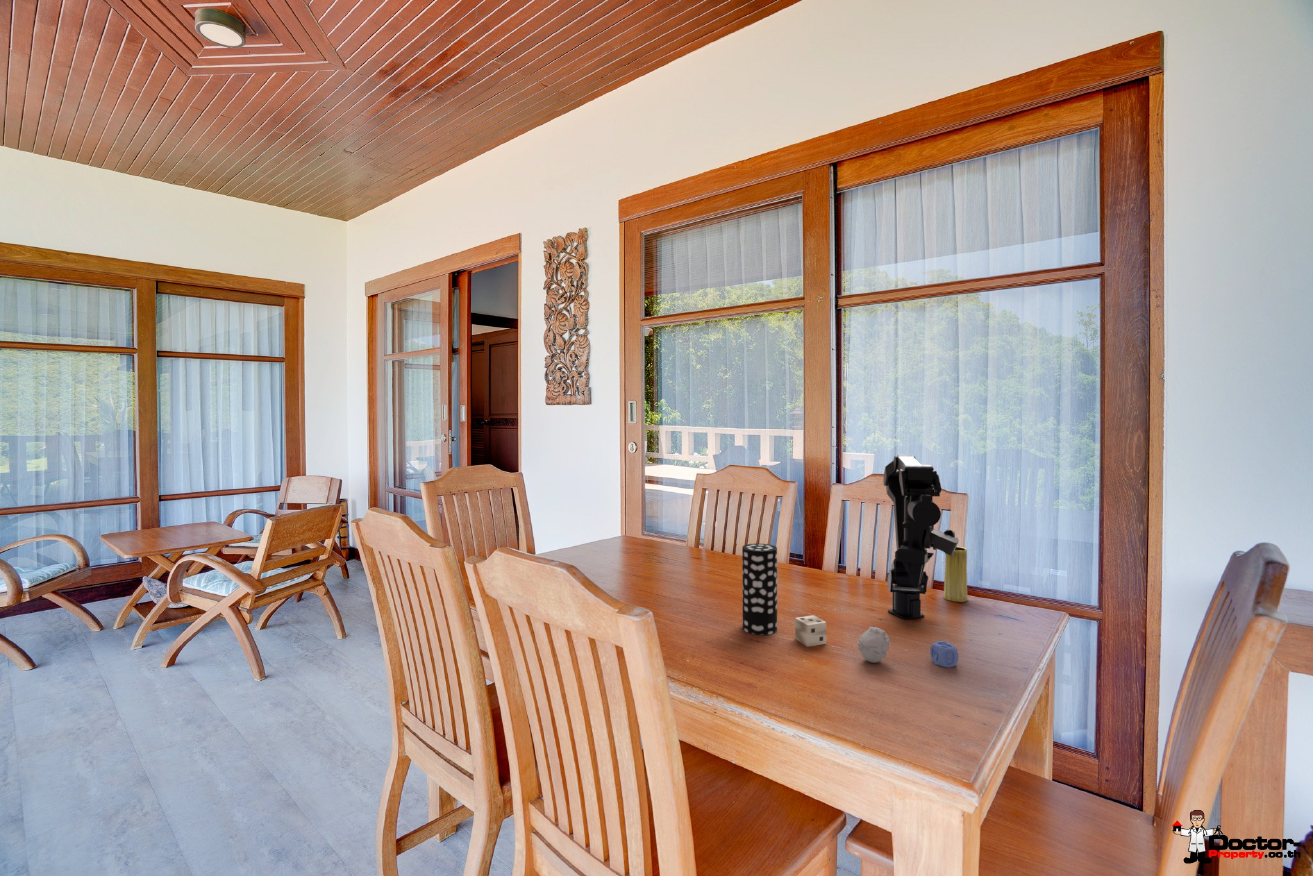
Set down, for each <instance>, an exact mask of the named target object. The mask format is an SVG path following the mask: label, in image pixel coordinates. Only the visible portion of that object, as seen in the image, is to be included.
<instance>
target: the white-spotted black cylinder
mask: <svg viewBox="0 0 1313 876" xmlns="http://www.w3.org/2000/svg"><path fill="white" fill-rule="evenodd" d="M741 549H742V550H741V551H742V553H741V554H742V555H741V558H742V559H741V560H742V564H741V565H742V568H741V570H742V572H741V573H742V575H741V576H742V582H741V583H742V588H741V589H742V630H743V631H744V632H745V633H749V634H751V635H758V636H764V635H765V636H767V635H772V634H774V633H776V632H777V631H778V547H777V546H776V545H772V544H769V543H748V544H744V545H742V546H741Z"/></svg>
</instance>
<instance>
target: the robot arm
mask: <svg viewBox="0 0 1313 876" xmlns="http://www.w3.org/2000/svg"><path fill="white" fill-rule="evenodd" d="M916 458H917V457H916V456H915V455H912V454H896V455H894V457H893V460H892V461H890V462H889V463H888V464H887V465H886V466H884V471H883V486H884V487H885V489H886V491H885V492H886V495H887V496H888V497H889V498H890V500H891V502H893V514H894V515H893V516H894V528H895V529H894V530H895V541H896V542H895V543H896V547H895V548H896V551H894V559H893V561H892V563H891V565H890V566H891V567H890V568H889V569H888V576H887V588H888V591H889V592H890V593H892V608H889V609H887V612H888V613H890V614H891V615H894V616H897V617H898V618H901V619H903V620H910V619H917V618H923V617H925V613H922V611H921V606H922V603H921V594H922V595H926V593H927V587H928V583H929V582H928V581H929V576H928V575H927V571H926V570H925V567H926V563H928V562H930V561H929V560H931V558H932V557H933V555H934V552H928V549H929V550H930V549H931V548H932V549H933V551H934V550H935V551H936V550H939V551H941V552H943V553H944V554H945V555H946V554H948V555H952V554H953V553H954V551H955V548H956V546H957V547H958V544H959V542H960V540H959V537H956V532H955V531H954V530H952V529H950V528H948V529H945V531H944V532H942V530H940V531H939V530H937V529H935V525H936V524H937V523H939V521H940V519H941V516H942V512H941V509H940V507H939V505H938V504H936V503H935V502H934V501H933V498H934V497H940V496H941V493H942V485H941V480H940V476H939V474H938V472H937V469H934V466H933V465H932V464H921V463H920V462H919V461H918V460H917V459H916Z"/></svg>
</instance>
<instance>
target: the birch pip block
mask: <svg viewBox="0 0 1313 876" xmlns="http://www.w3.org/2000/svg"><path fill="white" fill-rule="evenodd" d="M794 621H795V622H794V630H795V631H794V632H795V633H794V635H795V636H794V638H795V640H796V641H798V642H800V643H801V644H802V645H804V646H805V647H807V648H808V647H809V648H810V647H815V646H820V645H826V644H827V621H825V620H823V619H821V618H819V617H818V616H816V615H814V614H813V615H812V614H811V615H806V616H805V615H804V616H800V617H795V618H794Z"/></svg>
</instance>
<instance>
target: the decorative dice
mask: <svg viewBox="0 0 1313 876" xmlns="http://www.w3.org/2000/svg"><path fill="white" fill-rule="evenodd" d="M929 651H930V652H929V653H930V657H931V660H932V662H933V663H934V664H935V665H936V666H939V667H943V668H953V667H955V666H957V664H958V662H959V659H960V658H959V657H960V656H959V652H958V649H957V647H956V646H955V645H954V644H953V643H951V642H947V641H943V640H940V641H935V642H934V643H932V644H931V646H930V649H929Z"/></svg>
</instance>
